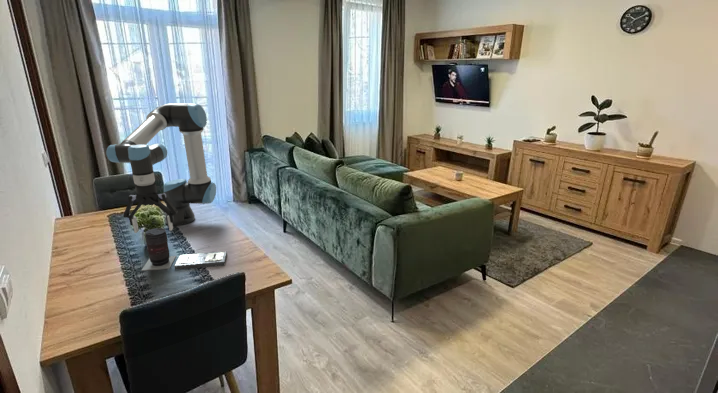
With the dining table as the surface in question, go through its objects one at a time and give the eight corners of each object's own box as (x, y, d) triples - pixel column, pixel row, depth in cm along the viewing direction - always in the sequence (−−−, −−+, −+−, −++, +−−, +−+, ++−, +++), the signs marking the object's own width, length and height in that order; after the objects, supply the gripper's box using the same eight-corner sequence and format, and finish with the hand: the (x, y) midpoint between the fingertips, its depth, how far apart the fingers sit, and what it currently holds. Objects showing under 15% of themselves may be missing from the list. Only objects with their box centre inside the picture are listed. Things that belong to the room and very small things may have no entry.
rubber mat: (149, 258, 167) (149, 257, 167) (176, 256, 169) (176, 255, 169) (141, 271, 157) (141, 270, 157) (169, 268, 159) (169, 267, 159)
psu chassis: (180, 258, 167) (179, 254, 166) (227, 255, 171) (226, 250, 170) (174, 269, 158) (174, 264, 157) (224, 265, 162) (223, 260, 161)
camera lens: (162, 268, 158) (157, 236, 154) (146, 266, 160) (139, 234, 155) (175, 259, 166) (170, 228, 161) (159, 257, 167) (153, 226, 163)
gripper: (107, 187, 145) (118, 236, 152) (175, 184, 150) (183, 232, 157) (114, 181, 152) (125, 229, 159) (180, 179, 157) (187, 224, 164)
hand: (154, 230), depth 158 cm, fingers open, 13 cm apart
